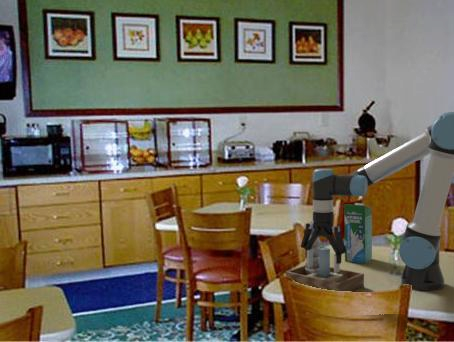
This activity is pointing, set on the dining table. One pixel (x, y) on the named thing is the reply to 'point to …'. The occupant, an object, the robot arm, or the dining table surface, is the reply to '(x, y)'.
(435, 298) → the dining table surface
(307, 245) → the robot arm
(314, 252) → the plastic bottle
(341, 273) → the tray
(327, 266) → the peg
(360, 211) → the milk carton
